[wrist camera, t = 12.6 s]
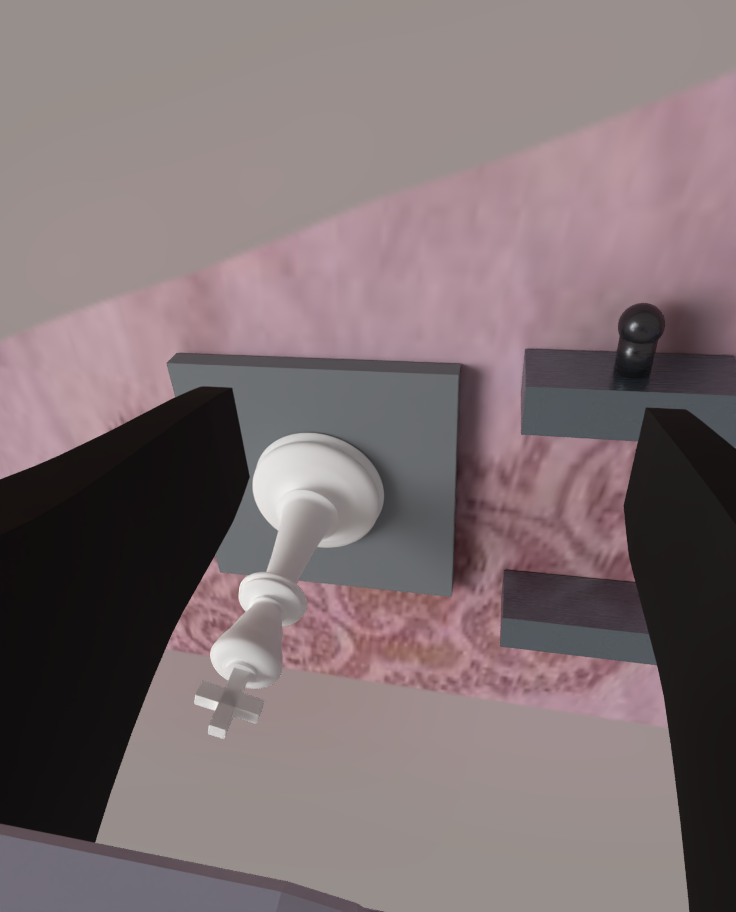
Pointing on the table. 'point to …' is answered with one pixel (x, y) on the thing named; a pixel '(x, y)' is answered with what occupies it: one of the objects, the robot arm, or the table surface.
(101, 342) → the table surface
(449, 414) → the mat
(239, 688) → the chess piece
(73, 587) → the robot arm
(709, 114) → the table surface
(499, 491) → the table surface
